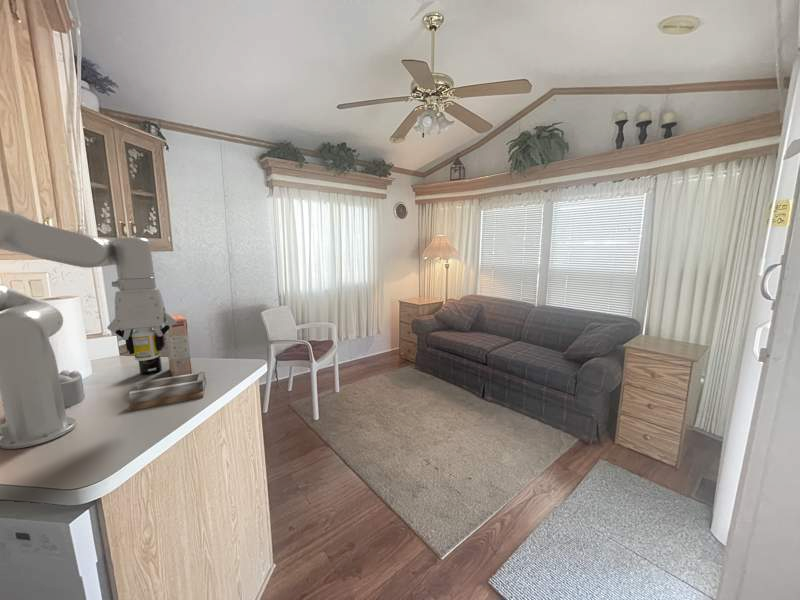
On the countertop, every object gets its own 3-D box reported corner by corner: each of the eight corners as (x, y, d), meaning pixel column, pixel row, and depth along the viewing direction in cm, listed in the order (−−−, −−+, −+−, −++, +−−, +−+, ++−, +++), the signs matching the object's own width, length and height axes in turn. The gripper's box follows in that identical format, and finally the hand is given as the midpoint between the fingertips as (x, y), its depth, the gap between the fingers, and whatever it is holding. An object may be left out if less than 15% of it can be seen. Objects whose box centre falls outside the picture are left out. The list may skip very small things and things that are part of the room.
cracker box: (193, 375, 118) (187, 318, 115) (173, 379, 114) (166, 321, 111) (188, 365, 128) (181, 313, 125) (169, 369, 125) (162, 315, 122)
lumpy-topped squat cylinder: (31, 415, 90) (25, 385, 89) (39, 399, 100) (34, 372, 98) (83, 403, 97) (78, 375, 96) (86, 390, 107) (82, 364, 105)
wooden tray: (128, 410, 92) (126, 396, 91) (141, 392, 104) (139, 379, 103) (203, 397, 100) (201, 384, 99) (206, 381, 112) (205, 369, 111)
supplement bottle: (142, 362, 85) (136, 326, 84) (130, 359, 88) (125, 324, 86) (164, 356, 90) (159, 322, 89) (153, 353, 92) (148, 320, 91)
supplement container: (159, 367, 127) (156, 341, 125) (165, 371, 122) (161, 344, 121) (137, 372, 121) (133, 345, 120) (142, 376, 117) (139, 348, 116)
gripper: (89, 288, 79) (100, 360, 82) (172, 284, 86) (181, 350, 89) (102, 285, 86) (112, 351, 89) (179, 282, 93) (186, 343, 95)
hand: (146, 350), depth 89 cm, fingers closed on supplement bottle, 5 cm apart
